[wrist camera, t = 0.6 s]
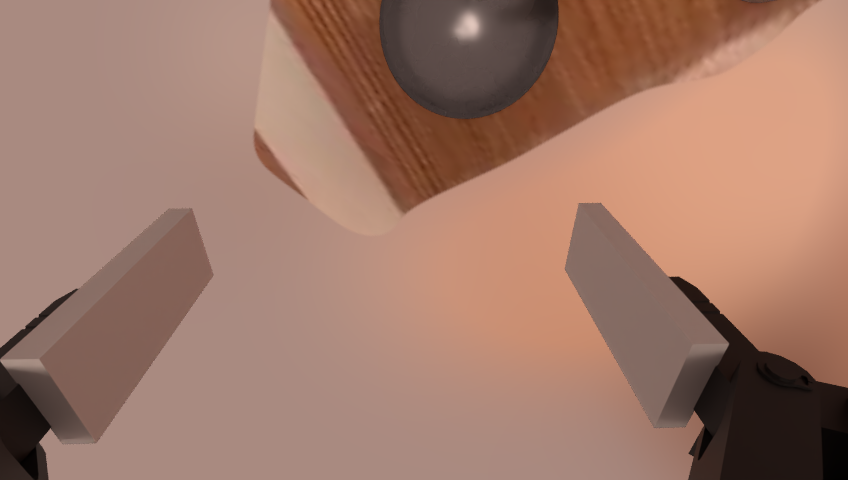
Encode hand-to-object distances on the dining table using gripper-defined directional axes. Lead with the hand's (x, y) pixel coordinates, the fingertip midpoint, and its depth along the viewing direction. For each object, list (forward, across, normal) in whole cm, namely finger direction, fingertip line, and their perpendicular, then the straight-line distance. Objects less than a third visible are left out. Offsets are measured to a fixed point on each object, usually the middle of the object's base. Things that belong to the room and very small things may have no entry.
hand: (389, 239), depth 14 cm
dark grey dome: (+27, +6, +5) cm, 28 cm away
